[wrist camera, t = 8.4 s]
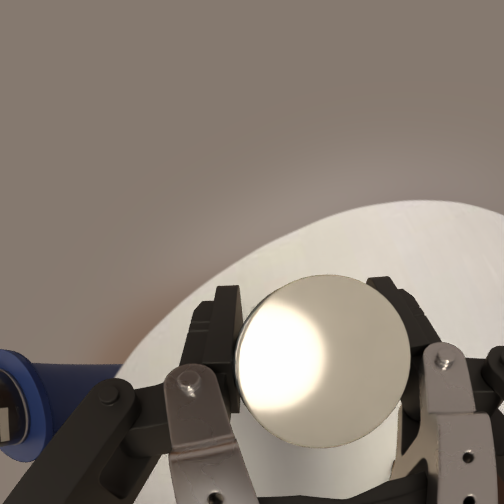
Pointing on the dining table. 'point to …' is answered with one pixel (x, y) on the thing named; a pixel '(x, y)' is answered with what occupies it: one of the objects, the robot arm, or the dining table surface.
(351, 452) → the dining table surface
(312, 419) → the salt shaker
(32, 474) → the robot arm
